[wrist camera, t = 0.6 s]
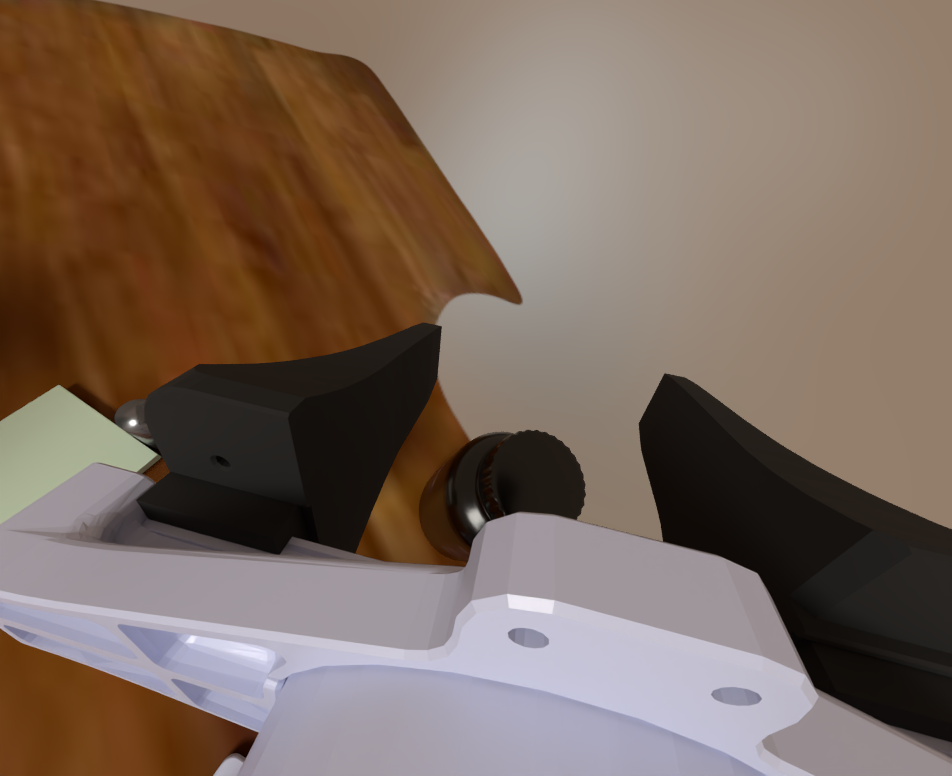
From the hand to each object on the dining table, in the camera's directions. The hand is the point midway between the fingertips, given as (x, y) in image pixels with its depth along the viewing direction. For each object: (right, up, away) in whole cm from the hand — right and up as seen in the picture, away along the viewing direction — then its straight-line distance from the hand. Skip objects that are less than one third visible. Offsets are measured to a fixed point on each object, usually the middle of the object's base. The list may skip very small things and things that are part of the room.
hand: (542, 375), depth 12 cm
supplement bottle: (-3, -9, +15) cm, 18 cm away
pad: (-26, -5, +8) cm, 27 cm away
